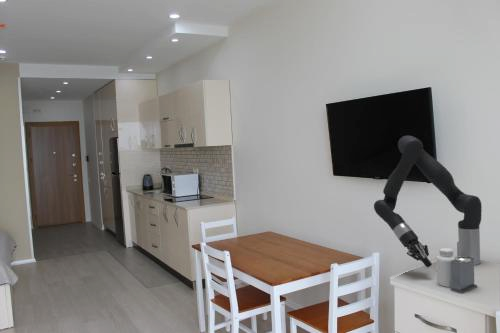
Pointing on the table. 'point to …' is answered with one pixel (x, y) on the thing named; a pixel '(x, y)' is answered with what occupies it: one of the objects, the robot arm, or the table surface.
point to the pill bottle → (444, 266)
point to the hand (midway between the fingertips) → (429, 266)
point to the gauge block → (462, 274)
